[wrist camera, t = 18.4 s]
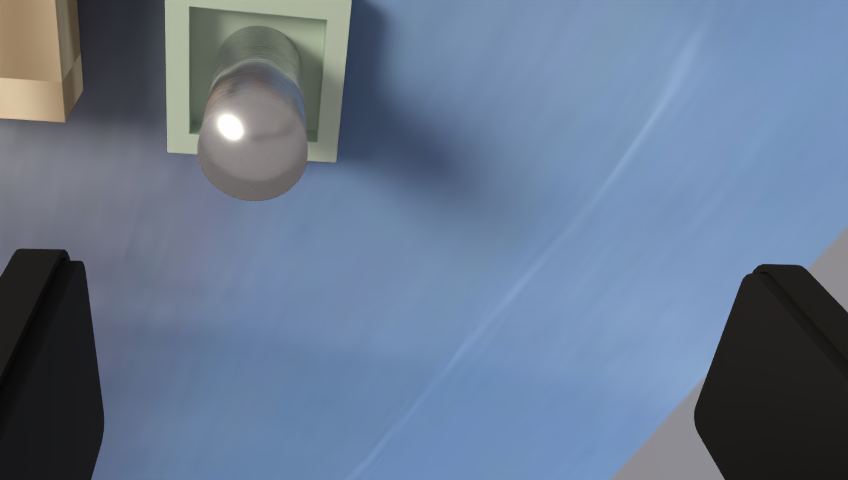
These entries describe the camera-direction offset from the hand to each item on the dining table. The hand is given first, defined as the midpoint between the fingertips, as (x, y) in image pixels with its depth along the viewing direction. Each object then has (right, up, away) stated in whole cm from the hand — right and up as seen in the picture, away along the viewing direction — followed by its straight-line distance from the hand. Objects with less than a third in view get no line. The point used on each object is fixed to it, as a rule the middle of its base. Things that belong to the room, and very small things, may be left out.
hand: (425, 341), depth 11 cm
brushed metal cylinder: (-8, +10, +27) cm, 30 cm away
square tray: (-8, +10, +27) cm, 30 cm away
